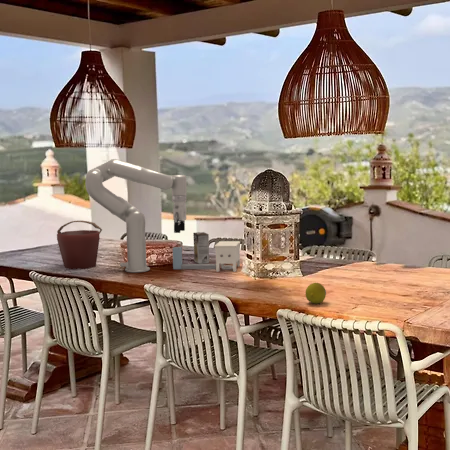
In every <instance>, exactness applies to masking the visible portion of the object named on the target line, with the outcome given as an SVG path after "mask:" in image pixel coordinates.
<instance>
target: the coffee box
mask: <svg viewBox="0 0 450 450" xmlns="http://www.w3.org/2000/svg"><path fill="white" fill-rule="evenodd" d="M192 236H193V257H194V260H193V261H194V262H195V264H210V245H209V244H210V241H209V240H210V238H209V234H208V233H206V232H205V231H203V232H199V231H198V232H193V235H192Z"/></svg>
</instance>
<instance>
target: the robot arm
mask: <svg viewBox="0 0 450 450" xmlns="http://www.w3.org/2000/svg"><path fill="white" fill-rule="evenodd" d="M114 177H117V178H120V179H124V180H126V181H131V182H132V183H133V182H134V183H137V184H143V185H146V186H151V187H155V188H158V189H161V190H163V191H164V190H165V191H166V190H171V202H172V203H173V206H172V207H173V209H172V211H173V212H172V217H173V219H172V220H173V233H174V234H178V233H179V234H180V233H181V232H184V231H185V230H186V228H185V227H186V226H185V225H186V224H185V221H186V220H187V206H186V205H187V204H186V202H187V175H184V174H174V175H172V174H171V175H170V174H165V173H162V172H157V171H154V170H152V169H149V168H146V167H143V166H141V165H137V164H134V163H132V162H131V163H130V162H127V161H123V160H122V159H121V160H120V159H116V158H113V159H109V160H108V161H106V162H104V163H102V164H100V165H98V166H96V167H94V168H92V169H90V170H89V171H88V172H86V175H85V189H86V192H87V194H88V196H89V197H90V198H91V199H92V200H94V202H96V203H97V204H99V205H101V206H102V207H103V208H104V209H105V210H107V211H109V213H111V214H112V215H113V216H115V217H117V218H119V219H120V221H121V220H122V221H123V222H125V223H126V224H125V226H126V251H127V261H126V262H120V263H119V266H120V267H121V268H122V267H123V268H124V267H125V269H124V271H125V272H127V273H145V272H148V271H150V269H151V268H150V267H149V266H148V265H147V244H146V243H147V241H146V240H147V239H146V217H145V213H144V212H143V211H142V210H140V209H138V208H137V207H136V206H134V205H133V204H131V202H129V201H128V200H126V199H124V198H123V197H121V196H119V195H116V194H115V193H113V192H112V191H110V189H108V188H107V187H105V186H104V184H103V183H105V182H106V181H108V180H110V179H112V178H114Z"/></svg>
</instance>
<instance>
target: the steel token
mask: <svg viewBox="0 0 450 450" xmlns="http://www.w3.org/2000/svg"><path fill="white" fill-rule="evenodd" d="M220 268H221V270H224V271H225V270H226V271H227V270H233V265H228V264H227V265H226V264H224V266H221V265H220Z"/></svg>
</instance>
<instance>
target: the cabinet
mask: <svg viewBox="0 0 450 450" xmlns="http://www.w3.org/2000/svg"><path fill="white" fill-rule="evenodd" d="M240 244H241V240H240V241H238V240H235V241H234V240H232V241H231V240H229V241H228V240H226V241H225V240H219V241H218V242H217V243H216V244H215V245H214V249H215V264H216V269H215V272H220V271H221V270H220V268H221V266H225V265H226V264H227V265H228V264H232V266H233V269H232V272H237V267H241V253H240V252H241V251H240Z"/></svg>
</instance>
